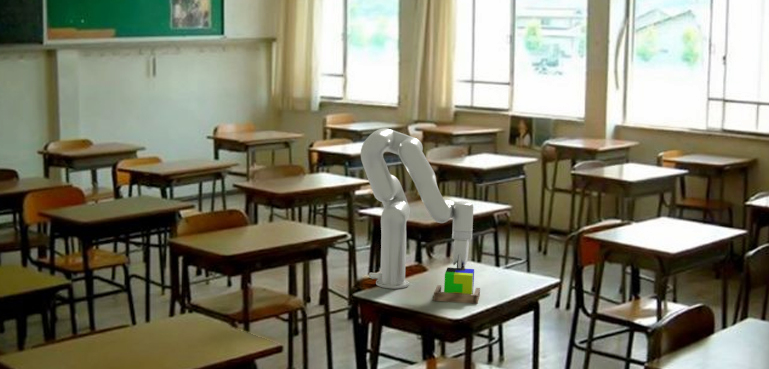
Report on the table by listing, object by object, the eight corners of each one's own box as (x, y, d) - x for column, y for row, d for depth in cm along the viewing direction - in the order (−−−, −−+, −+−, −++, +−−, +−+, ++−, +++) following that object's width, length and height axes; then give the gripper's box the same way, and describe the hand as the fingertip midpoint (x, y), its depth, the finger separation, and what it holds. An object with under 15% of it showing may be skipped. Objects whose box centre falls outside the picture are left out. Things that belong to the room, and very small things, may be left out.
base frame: (433, 300, 389) (433, 292, 389) (437, 292, 400) (437, 285, 400) (477, 303, 387) (477, 295, 386) (479, 295, 398) (480, 287, 397)
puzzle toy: (473, 295, 399) (474, 269, 397) (471, 302, 389) (472, 275, 387) (446, 293, 400) (447, 267, 399) (443, 300, 390) (444, 273, 389)
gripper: (454, 230, 410) (452, 276, 413) (449, 238, 395) (448, 286, 398) (474, 231, 409) (472, 277, 412) (470, 239, 394) (468, 287, 397)
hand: (460, 281), depth 405 cm, fingers closed
